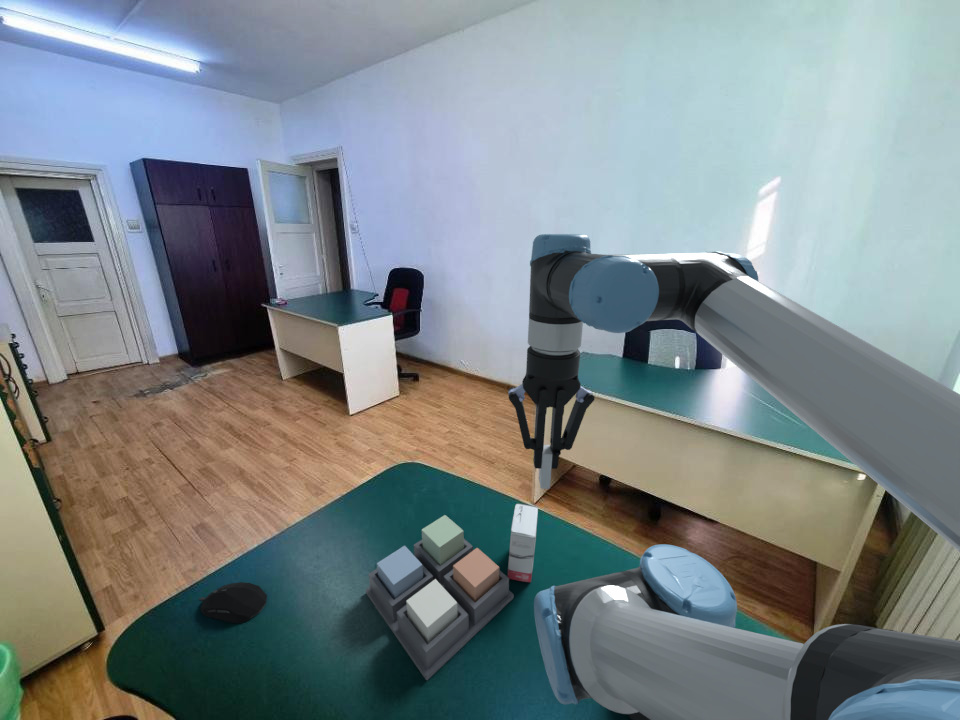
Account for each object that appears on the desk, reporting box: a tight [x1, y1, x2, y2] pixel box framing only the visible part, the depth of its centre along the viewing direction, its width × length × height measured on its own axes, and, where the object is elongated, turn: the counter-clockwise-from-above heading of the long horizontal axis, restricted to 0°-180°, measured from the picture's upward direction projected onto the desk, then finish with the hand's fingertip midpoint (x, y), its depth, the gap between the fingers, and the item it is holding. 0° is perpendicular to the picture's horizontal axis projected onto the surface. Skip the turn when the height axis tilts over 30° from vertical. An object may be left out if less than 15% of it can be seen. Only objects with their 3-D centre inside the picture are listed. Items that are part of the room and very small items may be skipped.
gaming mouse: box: [197, 581, 268, 624], centre depth 69 cm, size 6×15×4 cm, turn 81°
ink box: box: [507, 503, 539, 583], centre depth 76 cm, size 9×5×12 cm, turn 169°
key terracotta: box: [453, 547, 500, 602], centre depth 69 cm, size 6×6×5 cm
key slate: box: [376, 545, 423, 600], centre depth 69 cm, size 6×6×5 cm
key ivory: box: [406, 579, 458, 644], centre depth 62 cm, size 6×6×5 cm
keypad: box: [365, 538, 515, 682], centre depth 70 cm, size 20×20×5 cm
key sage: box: [421, 514, 465, 566], centre depth 75 cm, size 6×6×5 cm
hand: (544, 483), depth 61 cm, fingers closed
